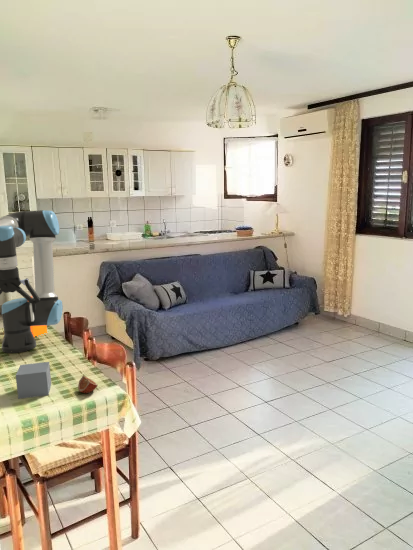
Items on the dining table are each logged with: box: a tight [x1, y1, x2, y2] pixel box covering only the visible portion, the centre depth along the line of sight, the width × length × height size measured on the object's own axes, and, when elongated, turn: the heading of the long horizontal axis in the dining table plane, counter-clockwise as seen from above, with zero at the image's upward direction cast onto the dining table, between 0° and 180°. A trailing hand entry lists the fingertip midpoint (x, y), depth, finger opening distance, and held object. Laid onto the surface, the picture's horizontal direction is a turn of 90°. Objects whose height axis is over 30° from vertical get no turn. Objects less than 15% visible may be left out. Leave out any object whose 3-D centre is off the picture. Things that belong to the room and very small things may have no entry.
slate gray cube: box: [15, 361, 52, 400], centre depth 164 cm, size 10×10×9 cm
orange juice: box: [28, 295, 48, 338], centre depth 233 cm, size 8×9×20 cm
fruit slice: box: [77, 375, 98, 394], centre depth 163 cm, size 8×7×5 cm
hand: (13, 322), depth 171 cm, fingers open, 13 cm apart
